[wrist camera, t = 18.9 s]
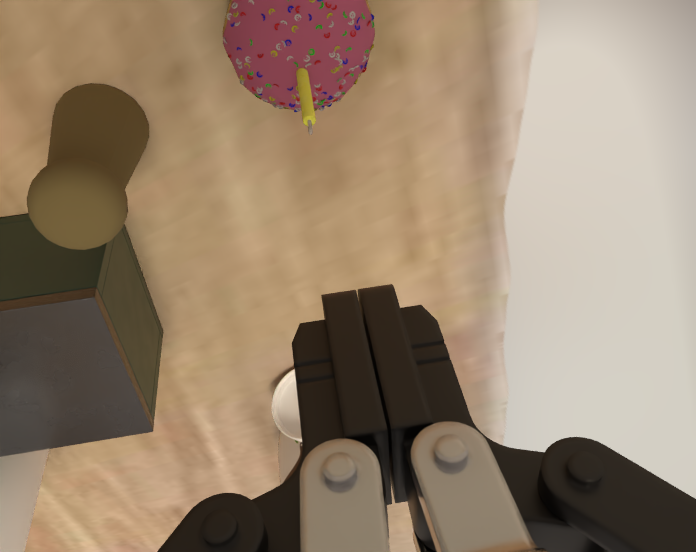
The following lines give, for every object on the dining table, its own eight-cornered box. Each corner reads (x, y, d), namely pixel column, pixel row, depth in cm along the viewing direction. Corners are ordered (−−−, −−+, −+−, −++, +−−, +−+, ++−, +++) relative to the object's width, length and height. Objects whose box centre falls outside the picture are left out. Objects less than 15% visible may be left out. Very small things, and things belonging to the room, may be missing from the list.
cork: (86, 178, 46) (55, 280, 38) (33, 103, 43) (-14, 197, 34) (165, 149, 46) (152, 245, 37) (119, 69, 42) (93, 157, 34)
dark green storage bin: (-21, 359, 56) (-57, 453, 49) (-103, 231, 47) (-162, 323, 40) (163, 331, 57) (154, 420, 49) (116, 201, 48) (96, 285, 41)
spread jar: (325, 451, 71) (339, 557, 62) (233, 418, 65) (234, 529, 56) (399, 385, 65) (426, 490, 56) (306, 343, 60) (320, 452, 51)
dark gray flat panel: (-69, 457, 48) (-74, 469, 48) (-177, 327, 40) (-185, 339, 39) (154, 420, 49) (153, 431, 49) (96, 286, 41) (94, 297, 40)
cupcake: (357, 76, 44) (391, 169, 35) (227, 78, 43) (228, 174, 34) (365, -65, 39) (408, 2, 30) (217, -68, 38) (214, 1, 29)
